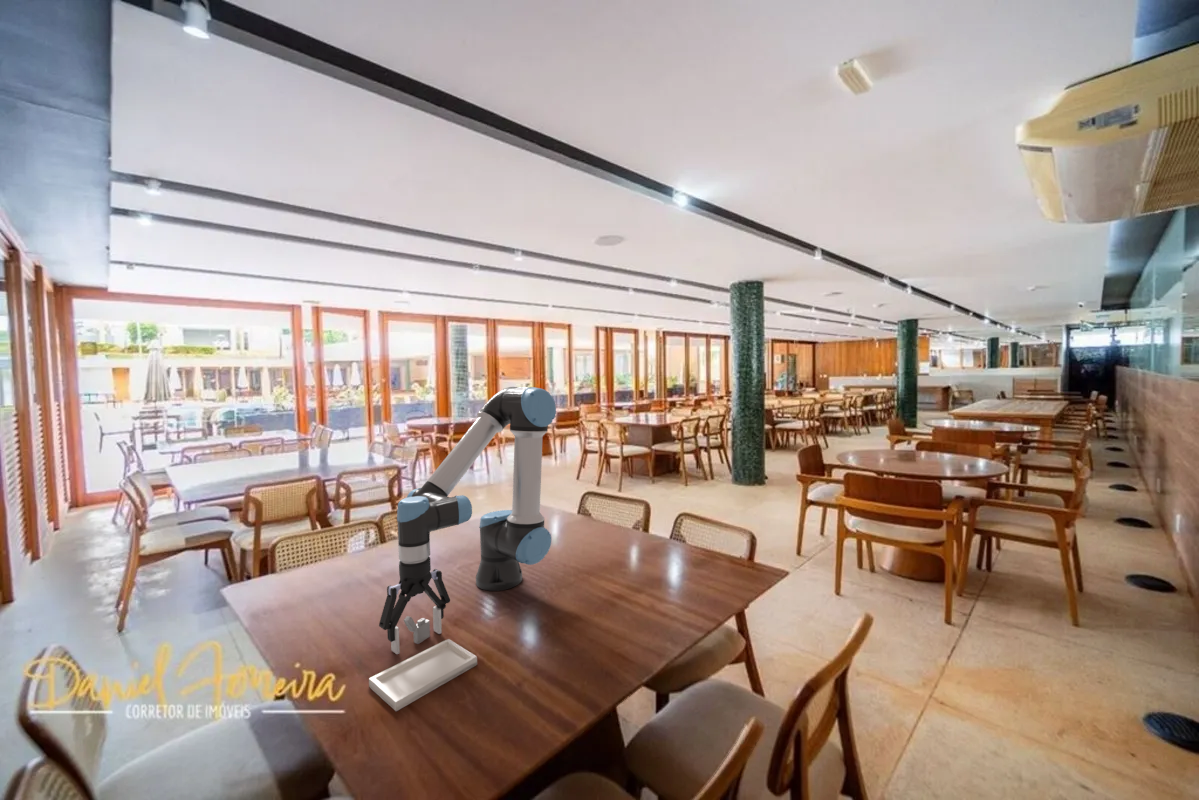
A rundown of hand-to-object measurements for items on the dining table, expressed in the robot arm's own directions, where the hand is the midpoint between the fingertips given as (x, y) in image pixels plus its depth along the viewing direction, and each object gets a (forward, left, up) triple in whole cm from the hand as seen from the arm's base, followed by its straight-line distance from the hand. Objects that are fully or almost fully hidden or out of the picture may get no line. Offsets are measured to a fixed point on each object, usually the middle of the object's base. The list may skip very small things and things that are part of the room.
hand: (417, 641), depth 123 cm
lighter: (0, 0, 0) cm, 0 cm away
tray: (+6, +14, 0) cm, 15 cm away
